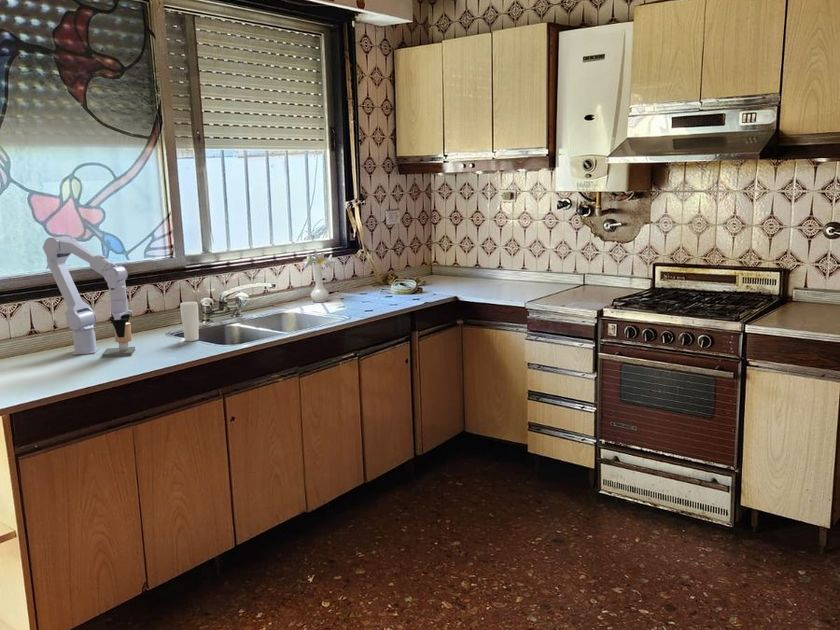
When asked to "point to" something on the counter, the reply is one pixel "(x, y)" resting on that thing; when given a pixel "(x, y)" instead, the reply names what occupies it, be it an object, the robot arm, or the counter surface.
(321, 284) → the flower vase
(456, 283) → the counter surface
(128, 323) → the copper topped wooden cylinder
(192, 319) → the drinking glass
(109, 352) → the base
